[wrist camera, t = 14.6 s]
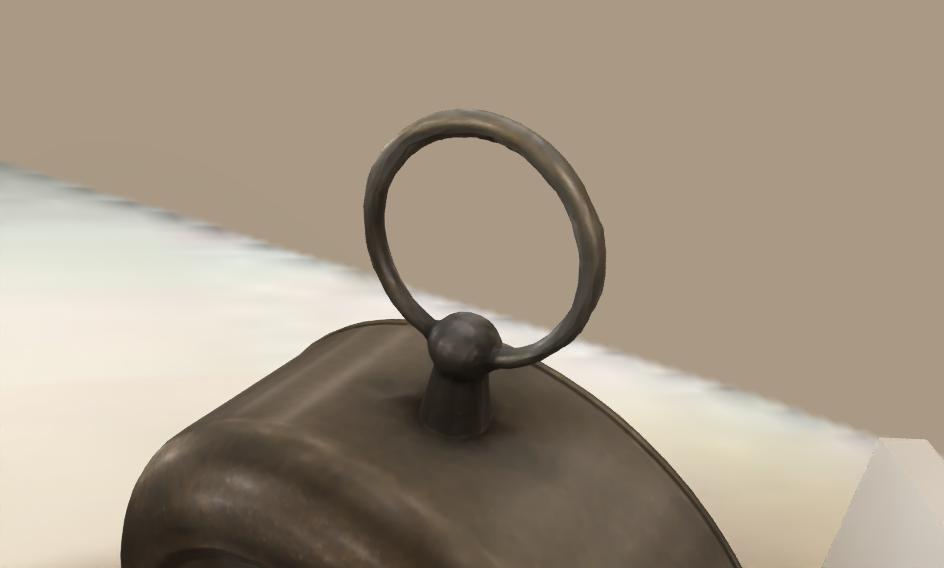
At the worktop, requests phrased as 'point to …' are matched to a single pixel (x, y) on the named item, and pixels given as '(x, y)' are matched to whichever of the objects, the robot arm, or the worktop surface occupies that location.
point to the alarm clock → (424, 437)
